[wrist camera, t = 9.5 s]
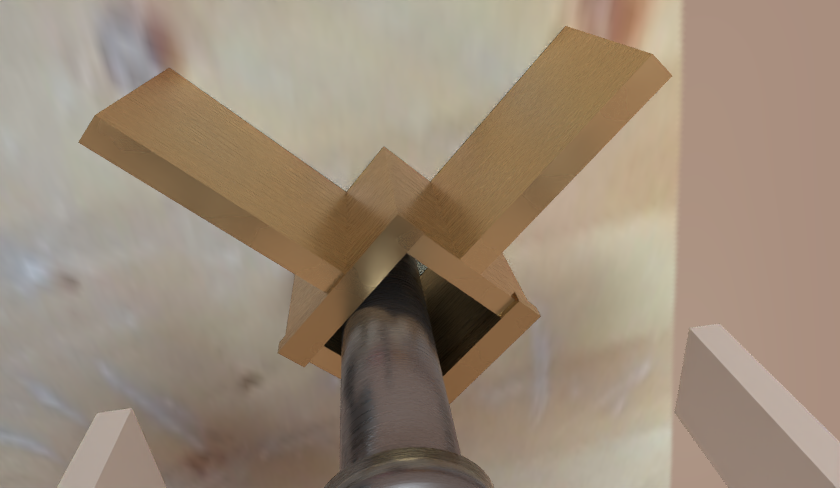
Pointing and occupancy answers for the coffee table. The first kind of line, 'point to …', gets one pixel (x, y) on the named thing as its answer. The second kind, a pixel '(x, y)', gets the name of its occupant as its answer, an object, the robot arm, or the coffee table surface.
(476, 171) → the hinge
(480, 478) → the hinge pin
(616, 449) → the coffee table surface
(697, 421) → the robot arm
